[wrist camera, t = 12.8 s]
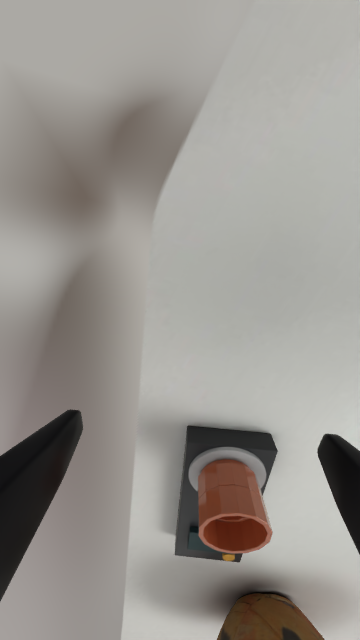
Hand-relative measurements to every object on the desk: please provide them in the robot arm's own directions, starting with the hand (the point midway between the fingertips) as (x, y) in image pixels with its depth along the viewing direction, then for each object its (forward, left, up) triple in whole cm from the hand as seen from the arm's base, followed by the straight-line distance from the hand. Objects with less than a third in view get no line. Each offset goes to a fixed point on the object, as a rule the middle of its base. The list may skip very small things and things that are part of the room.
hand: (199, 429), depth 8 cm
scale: (+13, -19, -11) cm, 26 cm away
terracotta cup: (+11, -13, -9) cm, 19 cm away
